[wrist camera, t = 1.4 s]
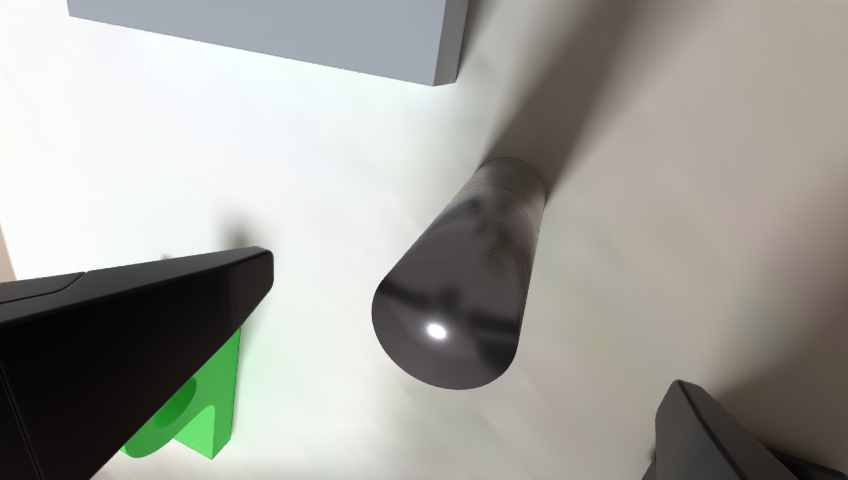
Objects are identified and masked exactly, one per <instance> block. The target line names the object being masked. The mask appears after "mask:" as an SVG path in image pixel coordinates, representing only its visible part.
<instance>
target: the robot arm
mask: <svg viewBox="0 0 848 480" xmlns="http://www.w3.org/2000/svg"><path fill="white" fill-rule="evenodd" d="M273 281H274V257H273V253H272V252H271V251H270V250H267V249H264V248H261V247H257V246H253V247H246V248H240V249H233V250H226V251H219V252H213V253H206V254H199V255H192V256H186V257H179V258H172V259H166V260H159V261H152V262H145V263H139V264H132V265H125V266H118V267H112V268H105V269H98V270H91V271H88V272H77V273H71V274H64V275H57V276H50V277H42V278H35V279H27V280H19V281H11V282H2V283H0V480H90V479H91V478H92V477H93V476H94V475H95V474H96V473H97V472H98V471H99V470H100V469H101V468H102V467H103V466H104V465H105V464H106V463H107V462H108V461H109V460H110V459H111V458H112V457H113V456H114V455H115V454H116V453H117V452H118V451H119V450H120V449H121V448H122V447H123V446H124V445H125V444H126V443H127V442H128V441H129V440H130V439H131V438H132V437H133V436H134V435H135V434H136V433H137V432H138V431H139V430H140V429H141V428H142V427H143V426H144V425H145V424H146V423H147V422H148V421H149V420H150V419H151V418H152V417H153V416H154V415H155V414H156V413H157V412H158V411H159V410H160V409H161V408H162V407H163V406H164V405H165V404H166V403H167V402H168V401H169V400H170V399H171V398H172V397H173V396H174V395H175V394H176V393H177V392H178V391H179V390H180V389H181V388H182V387H183V386H184V385H185V384H186V383H187V382H188V381H189V380H190V379H191V378H192V377H193V376H194V375H195V374H196V373H197V372H198V371H199V370H200V369H201V368H202V367H203V366H204V365H205V364H206V363H207V362H208V361H209V360H210V359H211V358H212V356H213V355H214V354H215V353H216V352H217V351H218V350H219V349H220V348H221V347H222V346H223V345H224V344H225V343H226V342H227V341H228V340H229V339H230V338H231V337H232V336H233V335H234V334H235V333H236V331H237V330H238V329H239V328H240V327H241V325H242V324H243V323H244V322H245V321H246V319H247V318H248V317H249V316H250V314H251V313H252V312H253V311H254V309H255V308H256V307H257V306H258V305H259V303H260V302H261V301H262V300H263V298H264V297H265V296H266V295H267V293H268V292H269V291H270V289H271V288H272V285H273ZM655 429H656V458H655V459H654V460H653V461H652V463H651V465H650V467H649V468H648V470H647V472H646V473H645V475H644V477H643V479H642V480H848V476H847V475H846V474H844V473H842V472H839V471H836V470H833V469H830V468H827V467H824V466H821V465H818V464H815V463H812V462H809V461H806V460H803V459H800V458H797V457H794V456H791V455H788V454H785V453H782V452H779V451H776V450H773V449H770V448H767V447H764V446H763V445H762V444H761V443H759V442H758V441H757V440H756V439H755V438H754V437H753V436H752V435H751V434H750V433H749V432H748V431H747V430H746V429H745V428H744V427H743V426H742V425H741V424H739V423H738V422H737V421H736V420H735V419H734V418H733V417H732V416H731V415H730V414H729V413H728V412H727V411H726V410H725V409H724V408H723V407H722V406H721V405H720V404H718V403H717V402H716V401H715V400H714V399H713V398H712V397H711V396H710V395H709V394H708V393H707V392H706V391H705V390H704V389H703V388H702V387H700V386H698V385H696V384H692V383H689V382H686V381H683V380H679V379H678V380H675V381H674V382H673V383H672V384H671V386H670V387H669V389H668V391H667V393H666V395H665V397H664V398H663V400H662V402H661V404H660V406H659V408H658V410H657V413H656V418H655Z"/></svg>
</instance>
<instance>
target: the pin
mask: <svg viewBox="0 0 848 480" xmlns="http://www.w3.org/2000/svg"><path fill="white" fill-rule="evenodd" d="M545 197H546V194H545V187H544V183H543V181H542V179H541V177H540V175H539V174H538V172H537V171H536V170H535V169H534V168H533V167H531V166H530V165H529V164H527V163H525V162H523V161H521V160H518V159H514V158H499V159H495V160H492V161H490V162H488V163H486V164H484V165H483V166H482V167H481V168H480V169H479V170H478V171H477V172H476V173H475V174H474V175H473V176H472V178H471V179H470V180H469V181H468V182H467V183H466V184H465V186H464V187H463V188H462V189H461V190H460V191H459V192H458V194H457V195H456V196H455V197H454V198H453V199H452V201H451V202H450V203H449V204H448V205H447V206H446V207H445V209H444V210H443V211H442V212H441V213H440V214H439V215H438V217H437V218H436V219H435V220H434V221H433V222H432V224H431V225H430V226H429V227H428V228H427V229H426V230H425V232H424V233H423V234H422V235H421V236H420V237H419V238H418V240H417V241H416V242H415V243H414V244H413V245H412V247H411V248H410V249H409V250H408V251H407V252H406V253H405V255H404V256H403V257H402V258H401V259H400V260H399V261H398V263H397V264H396V265H395V266H394V267H393V268H392V270H391V271H390V272H389V273H388V274H387V275H386V276H385V278H384V279H383V280H382V281H381V283H380V284H379V286H378V288H377V290H376V292H375V295H374V297H373V302H372V322H373V326H374V330H375V333H376V336H377V338H378V340H379V342H380V344H381V346H382V347H383V349H384V350H385V352H386V353H387V354H388V356H389V357H390V358H391V359H392V360H393V361H394V362H395V363H396V364H397V365H398V366H399V367H400V368H401V369H403V370H404V371H405V372H407V373H408V374H410V375H411V376H413V377H415V378H416V379H418V380H420V381H422V382H425V383H427V384H430V385H433V386H436V387H440V388H445V389H454V390H465V389H472V388H477V387H480V386H483V385H486V384H488V383H490V382H492V381H494V380H495V379H497V378H498V377H499V376H501V375H502V374H503V373H504V372H505V371H506V370H507V369H508V367H509V366H510V364H511V363H512V361H513V359H514V356H515V354H516V351H517V346H518V341H519V336H520V331H521V326H522V320H523V315H524V310H525V304H526V299H527V294H528V289H529V283H530V278H531V273H532V267H533V262H534V257H535V252H536V246H537V241H538V236H539V231H540V225H541V220H542V215H543V209H544V204H545Z"/></svg>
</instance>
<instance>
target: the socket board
mask: <svg viewBox="0 0 848 480" xmlns="http://www.w3.org/2000/svg"><path fill="white" fill-rule="evenodd" d="M67 5H68V10H69V15H70V16H72V17H77V18H82V19H87V20H92V21H97V22H103V23H108V24H113V25H118V26H123V27H128V28H134V29H139V30H144V31H149V32H154V33H159V34H165V35H170V36H175V37H180V38H185V39H190V40H195V41H201V42H206V43H211V44H216V45H221V46H226V47H232V48H237V49H242V50H247V51H252V52H257V53H263V54H268V55H273V56H278V57H283V58H288V59H293V60H299V61H304V62H309V63H314V64H319V65H324V66H330V67H335V68H340V69H345V70H350V71H355V72H361V73H366V74H371V75H376V76H381V77H386V78H391V79H397V80H402V81H407V82H412V83H417V84H422V85H428V86H439V85H445V84H451V83H455V80H456V74H457V68H458V63H459V57H460V51H461V45H462V39H463V34H464V28H465V22H466V16H467V10H468V5H469V0H67Z"/></svg>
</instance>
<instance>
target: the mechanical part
mask: <svg viewBox="0 0 848 480" xmlns="http://www.w3.org/2000/svg"><path fill="white" fill-rule="evenodd" d="M240 329H241V327H240V328H239V329H238V330H237V331H236V333H235V334H234V335H233V336H232V337H231V338H230V339H229V340H228V341H227V342H226V343H225V344H224V345H223V346H222V347H221V348H220V349H219V350H218V351H217V352H216V353H215V354H214V355H213V356H212V358H211V359H210V360H209V361H208V362H207V363H206V364H205V365H204V366H203V367H202V368H201V369H200V370H199V371H198V372H197V373H196V374H195V375H194V376H193V377H192V378H191V379H190V380H189V381H188V382H187V383H186V384H185V385H184V386H183V387H182V388H181V389H180V390H179V391H178V392H177V393H176V394H175V395H174V396H173V397H172V398H171V399H170V400H169V401H168V402H167V403H166V404H165V405H164V406H163V407H162V408H161V409H160V410H159V411H158V412H157V413H156V414H155V415H154V416H153V417H152V418H151V419H150V420H149V421H148V422H147V423H146V424H145V425H144V426H143V427H142V428H141V429H140V430H139V431H138V432H137V433H136V434H135V435H134V436H133V437H132V438H131V439H130V440H129V441H128V442H127V443H126V444H125V445H124V446H123V447H122V448H121V449H120V451H122V452H124V453H125V454H127V455H129V456H131V457H133V458H141V457H144V456H147V455H149V454H152V453H153V452H155V451H157V450H158V449H160V448H161V447H163V446H164V445H165V444H167V443H168V442H169V441H170V440H171V439H172V438H174V439H175V440H177V441H179V442H181V443H182V444H184V445H186V446H188V447H190V448H191V449H193V450H195V451H197V452H199V453H200V454H202V455H204V456H206V457H208V458H209V459H211V460H212V459H213V458H214V457H215V456H216V455H217V454H218V453H219V451H220V450H221V449H222V448H223V447H224V446H225V445H226V444H227V443H228V441H229V440H230V435H231V424H232V414H233V403H234V392H235V382H236V371H237V361H238V350H239V339H240Z"/></svg>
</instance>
